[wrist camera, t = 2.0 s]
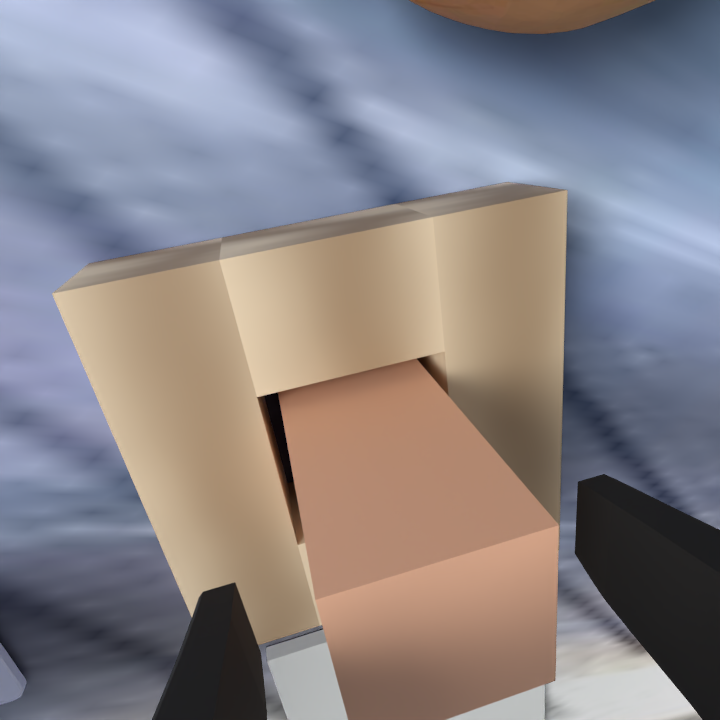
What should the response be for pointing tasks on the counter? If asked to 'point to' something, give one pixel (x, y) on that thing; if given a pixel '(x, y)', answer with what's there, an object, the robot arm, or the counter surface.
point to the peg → (419, 548)
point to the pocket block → (317, 364)
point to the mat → (323, 697)
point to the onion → (530, 13)
